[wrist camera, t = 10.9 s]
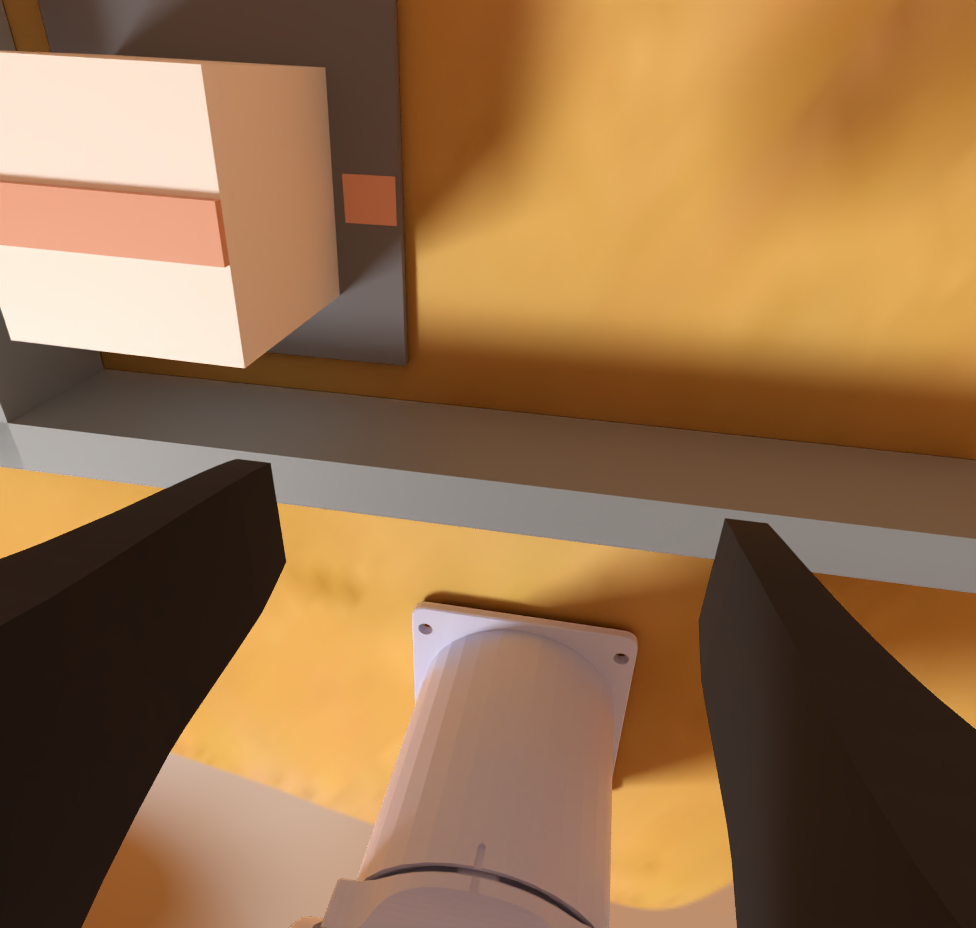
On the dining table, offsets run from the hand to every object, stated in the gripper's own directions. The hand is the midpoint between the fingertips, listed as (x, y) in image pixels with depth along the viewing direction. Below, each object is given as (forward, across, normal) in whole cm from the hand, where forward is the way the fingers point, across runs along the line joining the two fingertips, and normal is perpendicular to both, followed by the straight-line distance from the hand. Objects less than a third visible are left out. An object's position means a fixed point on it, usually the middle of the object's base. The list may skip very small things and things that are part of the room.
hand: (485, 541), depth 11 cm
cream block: (+9, +8, -4) cm, 13 cm away
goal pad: (+9, +8, -4) cm, 13 cm away
